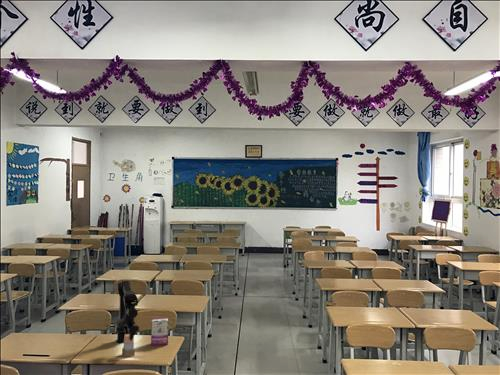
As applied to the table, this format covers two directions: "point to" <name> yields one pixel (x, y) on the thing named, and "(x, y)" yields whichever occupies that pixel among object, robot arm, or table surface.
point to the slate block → (128, 346)
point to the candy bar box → (159, 332)
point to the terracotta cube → (128, 339)
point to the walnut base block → (128, 352)
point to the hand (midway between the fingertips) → (129, 338)
